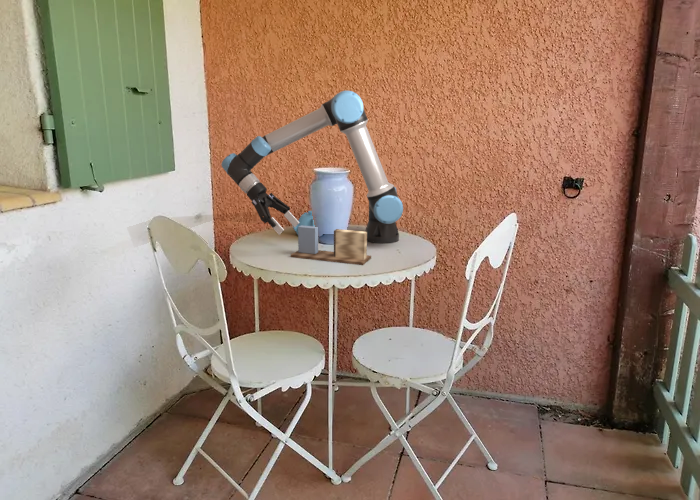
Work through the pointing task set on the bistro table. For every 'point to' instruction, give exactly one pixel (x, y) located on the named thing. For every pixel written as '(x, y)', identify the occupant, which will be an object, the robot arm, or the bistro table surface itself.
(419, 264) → the bistro table surface
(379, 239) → the robot arm
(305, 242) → the pale blue rectangular block
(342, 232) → the l-shaped wooden stand
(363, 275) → the bistro table surface
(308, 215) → the blue round finned body
